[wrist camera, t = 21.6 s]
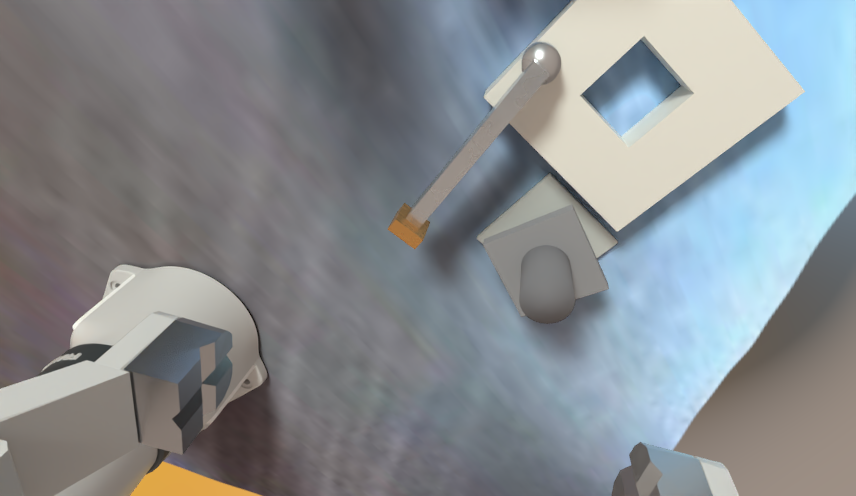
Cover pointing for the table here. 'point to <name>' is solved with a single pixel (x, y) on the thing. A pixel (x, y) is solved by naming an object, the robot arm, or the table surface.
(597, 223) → the mat
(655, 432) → the table surface
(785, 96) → the socket
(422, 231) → the ball-tipped lever rod
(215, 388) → the robot arm
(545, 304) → the plug
